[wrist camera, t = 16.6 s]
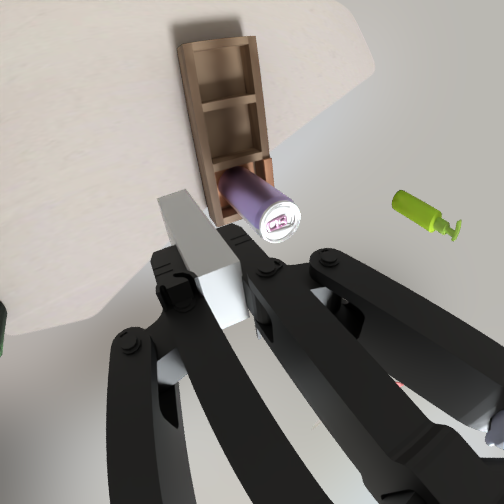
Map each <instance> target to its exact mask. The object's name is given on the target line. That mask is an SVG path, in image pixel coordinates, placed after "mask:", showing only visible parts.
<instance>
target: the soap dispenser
mask: <svg viewBox="0 0 504 504" xmlns="http://www.w3.org/2000/svg"><path fill="white" fill-rule="evenodd" d="M392 208H393V209H394V210H396V211H397V212H399V213H401V214H402V215H404V216H406V217H407V218H409V219H410V220H412V221H414V222H415V223H417V224H418V225H420V226H421V227H423V228H424V229H426V230H427V231H429V232H434V231H435V230H437V231H438V232H439V233H441V234H442V235H445V234H446V233H447V234H449V235H450V236H451V237H452V239H451V240H452V241H454V240H456V238H457V236H458V234H459V231H460V228H461V220H459V221H457V223H456V229H455V230H453V229H452V228H450V224H449V222H447V221H445V220H444V219H442V218H441V217H442V214H441V212H440V211H439V210H437V209H435V208H434V207H432V206H430V205H428V204H427V203H425V202H423V201H421V200H419V199H418V198H416V197H414V196H412V195H411V194H409V193H407V192H405V191H403V190H399V191H398V192H397V193H396V194H395V196H394V197H393V200H392Z"/></svg>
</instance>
